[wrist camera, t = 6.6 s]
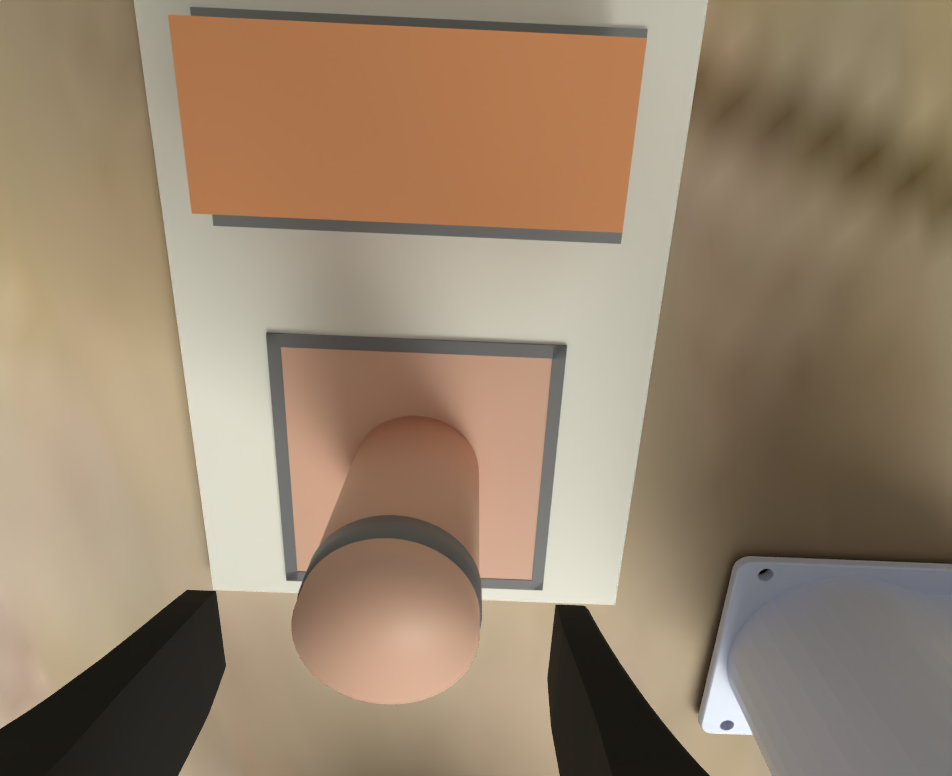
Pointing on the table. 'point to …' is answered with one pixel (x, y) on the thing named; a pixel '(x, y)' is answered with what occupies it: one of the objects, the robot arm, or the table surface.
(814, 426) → the table surface
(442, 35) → the button
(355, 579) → the cylinder
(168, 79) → the picture board
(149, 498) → the table surface
